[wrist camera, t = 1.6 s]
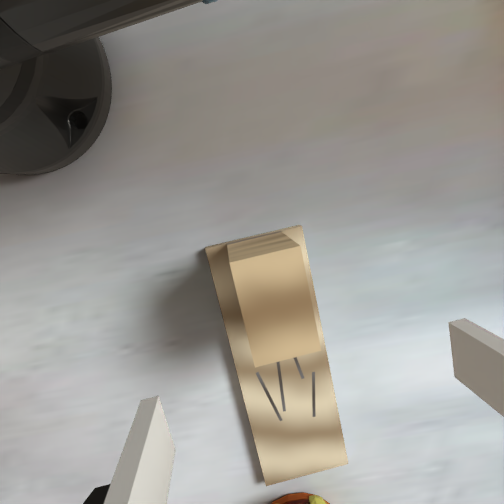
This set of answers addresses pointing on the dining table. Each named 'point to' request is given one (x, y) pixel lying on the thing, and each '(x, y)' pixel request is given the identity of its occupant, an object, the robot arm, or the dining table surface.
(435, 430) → the dining table surface
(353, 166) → the dining table surface
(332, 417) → the board
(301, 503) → the cheeseburger
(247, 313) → the block
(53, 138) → the robot arm
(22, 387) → the dining table surface
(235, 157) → the dining table surface
